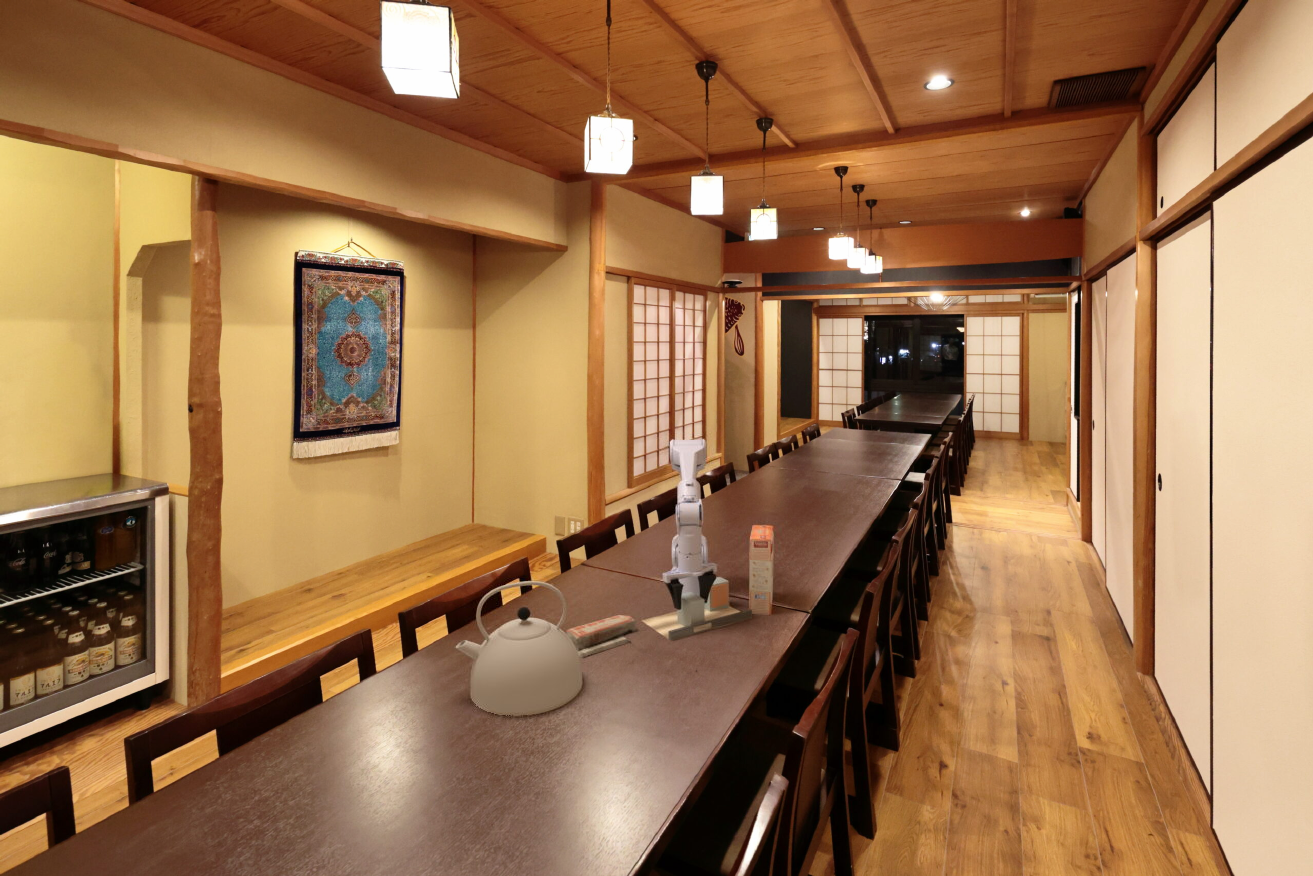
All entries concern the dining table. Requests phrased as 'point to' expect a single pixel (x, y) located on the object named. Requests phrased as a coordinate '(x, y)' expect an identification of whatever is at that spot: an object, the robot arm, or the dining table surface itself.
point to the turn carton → (691, 609)
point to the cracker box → (761, 569)
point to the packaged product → (601, 634)
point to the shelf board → (713, 619)
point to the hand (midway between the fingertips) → (690, 605)
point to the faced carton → (718, 595)
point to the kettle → (523, 663)
